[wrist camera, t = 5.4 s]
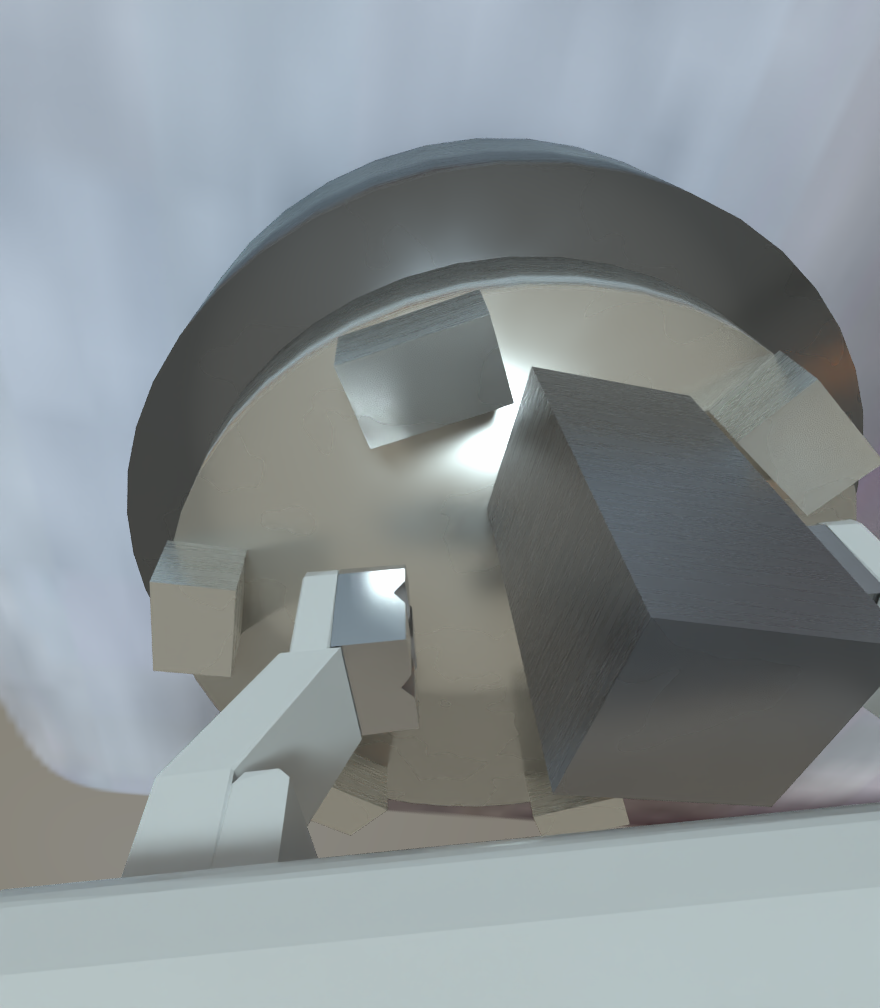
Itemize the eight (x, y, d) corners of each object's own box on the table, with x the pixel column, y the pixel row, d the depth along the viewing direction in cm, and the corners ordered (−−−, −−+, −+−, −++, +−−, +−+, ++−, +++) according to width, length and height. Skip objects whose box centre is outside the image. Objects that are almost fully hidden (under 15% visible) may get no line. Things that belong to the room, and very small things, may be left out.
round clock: (941, 336, 14) (1465, 604, 7) (655, 760, 22) (773, 1065, 15) (194, 172, 11) (-95, 360, 4) (190, 727, 19) (90, 1083, 12)
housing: (902, 391, 19) (1061, 496, 15) (525, 724, 27) (553, 857, 23) (386, -71, 12) (389, -140, 8) (84, 551, 20) (-1, 693, 16)
